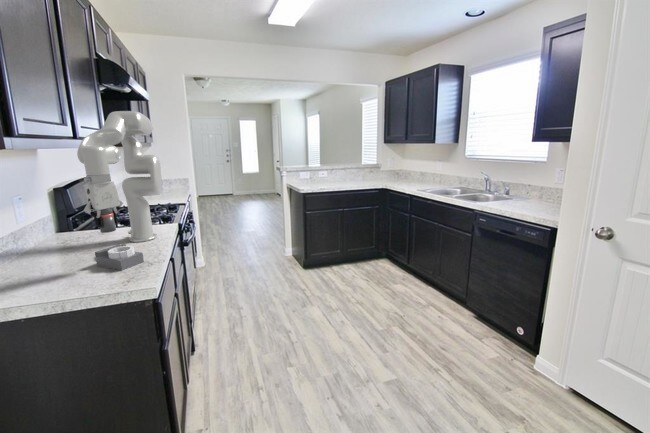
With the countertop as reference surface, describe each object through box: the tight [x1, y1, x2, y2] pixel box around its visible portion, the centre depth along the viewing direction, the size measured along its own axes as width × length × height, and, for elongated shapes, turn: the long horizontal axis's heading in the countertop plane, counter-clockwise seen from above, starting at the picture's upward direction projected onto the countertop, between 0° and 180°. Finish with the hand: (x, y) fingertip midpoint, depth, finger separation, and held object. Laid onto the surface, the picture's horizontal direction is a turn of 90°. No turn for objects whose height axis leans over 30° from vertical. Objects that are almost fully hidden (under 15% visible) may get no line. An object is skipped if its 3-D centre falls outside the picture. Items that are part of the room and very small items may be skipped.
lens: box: [99, 208, 117, 234], centre depth 132 cm, size 5×5×10 cm
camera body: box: [94, 244, 145, 271], centre depth 138 cm, size 14×10×6 cm
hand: (107, 224), depth 133 cm, fingers closed on lens, 5 cm apart
